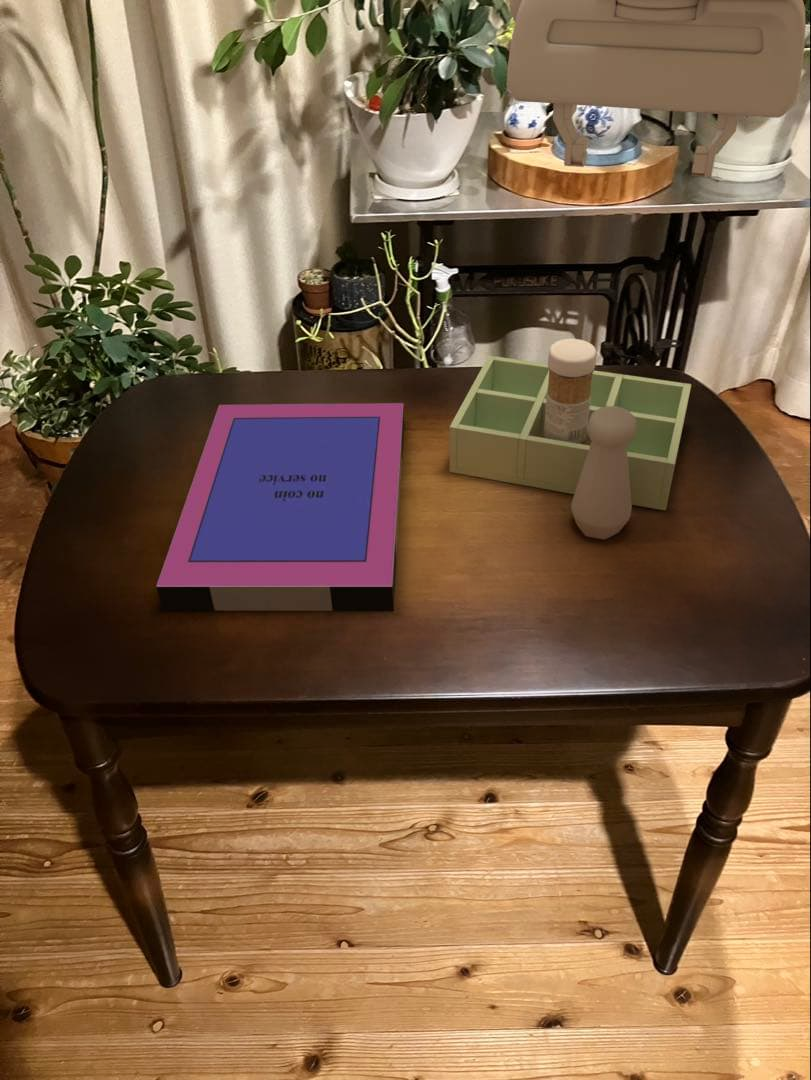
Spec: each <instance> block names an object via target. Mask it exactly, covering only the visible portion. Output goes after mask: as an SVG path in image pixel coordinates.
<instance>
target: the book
mask: <svg viewBox="0 0 811 1080" xmlns="http://www.w3.org/2000/svg"><path fill="white" fill-rule="evenodd" d="M404 404H405V403H404V402H378V403H377V402H373V403H372V402H371V403H370V402H369V403H365V402H363V403H362V402H361V403H360V402H359V403H274V404H273V403H267V404H266V403H264V404H263V403H260V404H259V403H255V404H244V403H243V404H219V405H218V407H217V410H216V413H215V416H214V419H213V422H212V424H211V427H210V429H209V433H208V436H207V438H206V442H205V445H204V447H203V451H202V453H201V456H200V458H199V462H198V465H197V468H196V470H195V473H194V477H193V479H192V483H191V485H190V488H189V491H188V493H187V497H186V500H185V502H184V505H183V508H182V511H181V514H180V517H179V520H178V523H177V526H176V529H175V531H174V534H173V536H172V539H171V543H170V545H169V547H168V552H167V555H166V558H165V560H164V563H163V566H162V569H161V572H160V574H159V576H158V577H159V578H158V580H157V583H156V590H157V595H158V598H159V601H160V604H161V609H162V611H165V612H166V611H167V612H168V611H169V612H170V611H171V612H172V611H175V612H176V611H177V612H179V611H191V612H193V611H195V612H196V611H198V612H199V611H201V612H202V611H203V612H205V611H208V612H209V611H211V612H212V611H214V612H215V611H216V612H217V611H219V612H220V611H222V612H223V611H227V612H231V611H232V612H234V611H235V612H236V611H237V612H238V611H239V612H241V611H242V612H243V611H245V612H247V611H248V612H249V611H250V612H251V611H252V612H253V611H254V612H255V611H256V612H258V611H259V612H262V611H264V612H266V611H267V612H269V611H270V612H274V611H275V612H276V611H277V612H279V611H281V612H288V611H289V612H292V611H293V612H298V611H299V612H345V611H346V612H361V611H362V612H394V610H395V593H396V575H397V558H398V544H399V543H398V542H399V541H398V540H399V526H400V525H399V524H400V508H401V507H400V506H401V493H402V492H401V491H402V490H401V489H402V472H403V455H404V440H405V439H404V438H405V405H404Z"/></svg>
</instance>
